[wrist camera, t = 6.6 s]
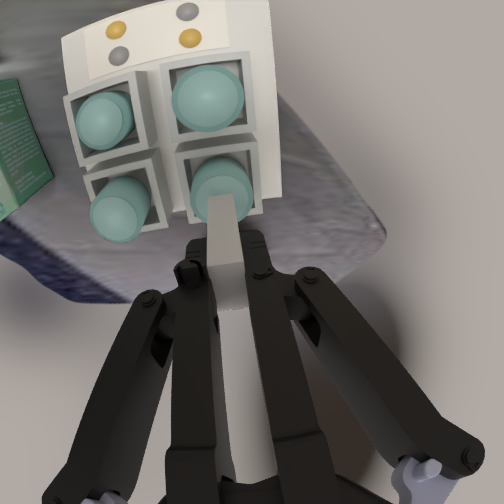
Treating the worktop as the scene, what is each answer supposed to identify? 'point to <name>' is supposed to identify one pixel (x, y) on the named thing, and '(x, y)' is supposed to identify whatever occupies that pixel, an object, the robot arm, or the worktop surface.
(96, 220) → the button
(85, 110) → the button
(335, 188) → the worktop surface
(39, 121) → the worktop surface
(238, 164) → the button
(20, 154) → the box
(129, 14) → the board
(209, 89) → the button
